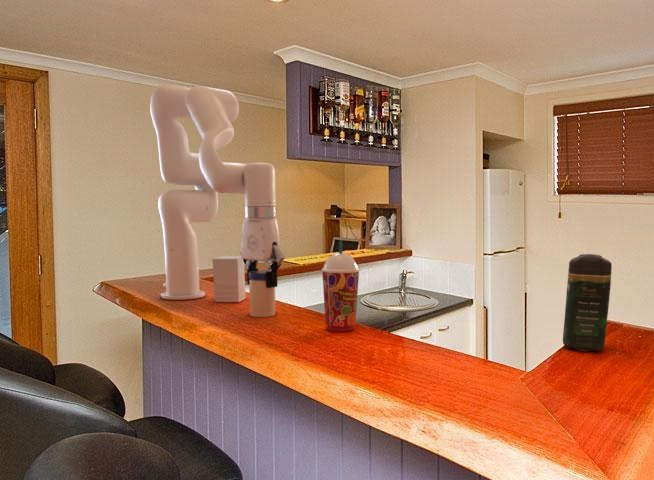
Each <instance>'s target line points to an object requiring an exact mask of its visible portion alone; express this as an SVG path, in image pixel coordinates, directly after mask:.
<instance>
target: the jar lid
mask: <svg viewBox="0 0 654 480" xmlns="http://www.w3.org/2000/svg"><path fill="white" fill-rule="evenodd" d="M266 272H268V270H267V269H265V270H263V269H262V270H261V269H258V271H250V272H249V274H248V278H249V279H251V280H266Z"/></svg>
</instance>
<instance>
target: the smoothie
mask: <svg viewBox="0 0 654 480" xmlns="http://www.w3.org/2000/svg"><path fill="white" fill-rule="evenodd" d="M321 272H322V289H323V291H322V292H323V304H324V320H325V325H327V329H328V330H329V331H331V332H337V333H345V332H351V331H352V330H354V325H356V321H357V309H358V308H357V307H358V294H359V293H358V292H359V280H360V279H359V277H360V268H359V267H358V264H357V262H356V261H355V258H353V257H352V256H351V255H349V254H347V253H345V252H343V240H339V241H338V252H336V253H334V254H332V255H330V256H329V257H328V258H327V259H326V261H325V262H324V265H323V267H322V268H321Z"/></svg>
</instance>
